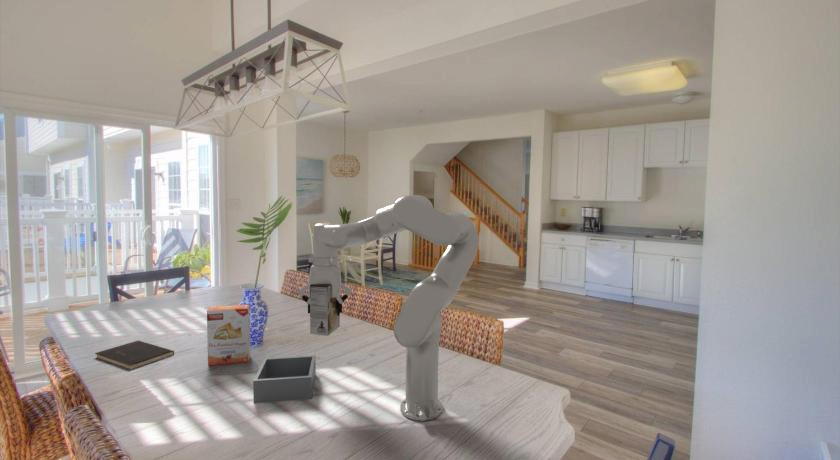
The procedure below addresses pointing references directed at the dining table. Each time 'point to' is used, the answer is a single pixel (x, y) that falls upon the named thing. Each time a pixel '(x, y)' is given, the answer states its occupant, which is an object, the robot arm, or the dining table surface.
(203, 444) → the dining table surface
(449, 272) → the robot arm
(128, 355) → the hardcover book
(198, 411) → the dining table surface
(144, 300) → the dining table surface
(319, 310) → the coffee box
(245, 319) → the cracker box
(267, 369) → the bin
